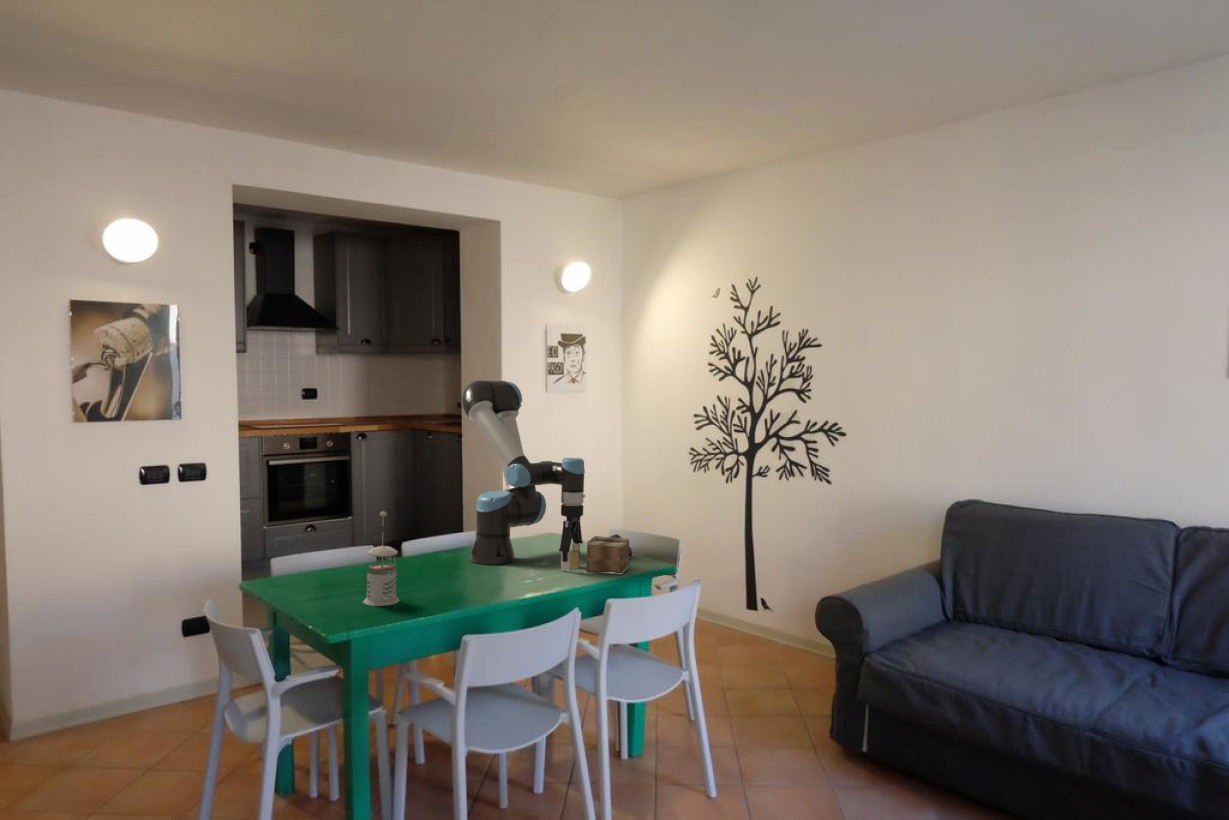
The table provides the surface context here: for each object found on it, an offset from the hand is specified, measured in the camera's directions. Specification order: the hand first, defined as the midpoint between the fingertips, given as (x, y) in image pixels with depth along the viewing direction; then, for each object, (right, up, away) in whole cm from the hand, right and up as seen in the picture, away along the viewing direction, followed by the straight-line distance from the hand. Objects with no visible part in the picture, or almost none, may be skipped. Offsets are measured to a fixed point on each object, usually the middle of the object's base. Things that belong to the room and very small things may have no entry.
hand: (570, 566), depth 277 cm
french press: (-50, 0, -48) cm, 69 cm away
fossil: (+16, 0, +18) cm, 24 cm away
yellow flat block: (0, 0, 0) cm, 0 cm away
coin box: (+12, -1, -2) cm, 13 cm away
